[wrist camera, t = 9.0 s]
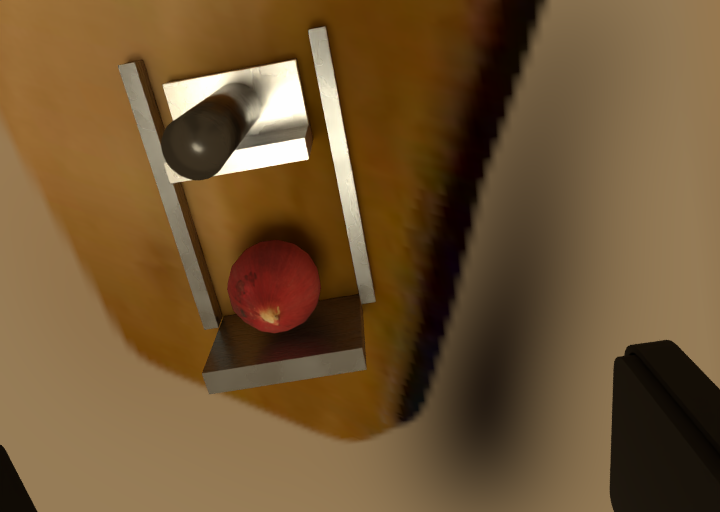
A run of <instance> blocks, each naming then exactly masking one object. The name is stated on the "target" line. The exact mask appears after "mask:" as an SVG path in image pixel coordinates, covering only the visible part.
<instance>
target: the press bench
mask: <svg viewBox="0 0 720 512" xmlns="http://www.w3.org/2000/svg"><path fill="white" fill-rule="evenodd" d="M308 33H309V38H310V43H311V49H312V54H313V59H314V64H315V69H316V74H317V79H318V84H319V90H320V95H321V100H322V105H323V110H324V115H325V120H326V126H327V131H328V136H329V141H330V146H331V151H332V156H333V161H334V167H335V172H336V177H337V182H338V187H339V192H340V197H341V202H342V208H343V213H344V218H345V223H346V228H347V233H348V238H349V244H350V249H351V254H352V259H353V264H354V269H355V274H356V279H357V285H358V290H359V294H358V295H352V296H346V297H339V298H333V299H327V300H321V301H318V303H317V305H316V308H315V309H314V310H313V312H312V313H311V315H310V316H309V317H308V319H307V320H306V321H305V322H304V323H302V324H300V325H298V326H296V327H294V328H292V329H290V330H288V331H283V332H279V333H270V332H263V331H260V330H258V329H256V328H254V327H253V326H251V325H249V324H247V323H245V322H244V321H243V320H242V319H241V318H240V317H239V316H238V315H237V314H236V315H230V316H224V317H223V320H222V323H221V325H220V322H221V319H222V313H221V310H220V307H219V304H218V301H217V297H216V294H215V291H214V288H213V284H212V281H211V278H210V275H209V272H208V268H207V265H206V262H205V259H204V255H203V252H202V249H201V246H200V243H199V239H198V236H197V233H196V230H195V226H194V223H193V220H192V217H191V214H190V210H189V207H188V204H187V201H186V198H185V194H184V191H183V188H182V185H181V182H177V183H171V184H170V181H169V178H168V175H167V172H166V169H165V166H164V162H166V161H165V159H164V157H163V154H162V149H161V140H162V135H163V133H164V131H165V130H164V127H163V123H162V120H161V117H160V114H159V111H158V107H157V104H156V101H155V98H154V94H153V91H152V88H151V85H150V82H149V78H148V75H147V72H146V69H145V66H144V62H143V60H141V61H135V62H130V63H125V64H122V65H118V68H119V71H120V74H121V77H122V80H123V83H124V86H125V89H126V92H127V95H128V98H129V101H130V104H131V107H132V111H133V114H134V117H135V120H136V123H137V126H138V129H139V132H140V135H141V138H142V141H143V144H144V147H145V150H146V153H147V156H148V159H149V162H150V165H151V168H152V171H153V174H154V177H155V180H156V184H157V187H158V190H159V193H160V196H161V199H162V202H163V205H164V208H165V211H166V214H167V217H168V220H169V223H170V226H171V229H172V232H173V235H174V238H175V241H176V244H177V247H178V250H179V253H180V256H181V260H182V263H183V266H184V269H185V272H186V275H187V278H188V281H189V284H190V287H191V290H192V293H193V296H194V299H195V302H196V305H197V308H198V311H199V314H200V317H201V320H202V323H203V326H204V329H205V330H206V329H212V328H218V327H219V325H220V328H219V331H218V333H217V336H216V338H215V341H214V344H213V346H212V349H211V351H210V354H209V357H208V359H207V362H206V365H205V367H204V370H203V372H202V375H203V378H204V381H205V383H206V386H207V389H208V392H209V394H215V393H221V392H227V391H234V390H240V389H246V388H253V387H259V386H265V385H272V384H278V383H284V382H290V381H297V380H303V379H309V378H316V377H322V376H328V375H335V374H341V373H347V372H354V371H360V370H366V354H365V337H364V320H363V310H362V305H361V304H365V303H371V302H375V292H374V286H373V281H372V276H371V270H370V265H369V259H368V254H367V248H366V243H365V237H364V232H363V226H362V221H361V215H360V210H359V204H358V199H357V193H356V188H355V182H354V177H353V171H352V166H351V160H350V155H349V149H348V144H347V138H346V133H345V127H344V122H343V117H342V111H341V106H340V100H339V95H338V89H337V84H336V78H335V73H334V67H333V62H332V56H331V51H330V45H329V40H328V34H327V29H326V26H322V27H317V28H312V29H309V30H308Z"/></svg>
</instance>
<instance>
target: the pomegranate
mask: <svg viewBox="0 0 720 512" xmlns="http://www.w3.org/2000/svg"><path fill="white" fill-rule="evenodd" d="M320 289H321V285H320V280H319V275H318V270H317V267H316V265H315V264H314V262H313V261H312V259H311V258H310V256H309V255H308V253H306V252H305V251H303V250H302V249H301V248H299V247H298V246H296V245H295V244H293V243H289V242H284V241H280V240H271V241H263V242H259V243H257V244H255V245H253V246H251V247H249V248H247V249H246V250H245V251H244V252H243V253H242V255H241V256H240V257H239V258H238V260H237V261H236V262H235V263H234V265H233V266H232V268H231V272H230V276H229V280H228V288H227V290H228V293H229V297H230V301H231V305H232V308H233V310H234V312H235V313H236V314H237V315H238V316H239V317H240V318H241V319H242V320H243V321H244V322H245V323H247V324H249V325H251V326H253V327H254V328H256V329H258V330H260V331H263V332H270V333H279V332H283V331H288V330H290V329H292V328H294V327H296V326H298V325H300V324H302V323H304V322H305V321H306V320H307V319H308V317H309V316H310V315H311V313H312V312H313V310H314V309H315V308H316V305H317V303H318V299H319V294H320Z"/></svg>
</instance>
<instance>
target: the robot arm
mask: <svg viewBox="0 0 720 512" xmlns="http://www.w3.org/2000/svg"><path fill="white" fill-rule="evenodd" d="M613 376H614V377H613V404H612V435H611V467H610V498H611V503H612V507H613V510H614V512H720V389H719V388H718V387H717V386H716V385H715V384H714V383H713V382H712V381H711V380H710V379H709V378H708V377H707V376H706V375H705V374H704V373H703V372H702V371H701V370H700V368H699V367H698V366H697V365H696V364H695V363H694V362H693V361H692V360H691V359H690V358H689V357H688V356H687V355H686V354H685V353H684V352H683V351H682V350H681V349H680V348H679V347H678V346H677V345H676V344H675V343H674V342H672V341H670V340H663V341H656V342H649V343H641V344H635V345H630V346H628V347H627V348H626V350H625V355H624V356H622V357H617V358H616V359H615V361H614V373H613ZM0 512H37V510H36V508H35V506H34V504H33V502H32V500H31V499H30V497H29V495H28V493H27V491H26V489H25V487H24V485H23V483H22V481H21V479H20V477H19V475H18V473H17V472H16V469H15V468H14V466H13V464H12V462H11V460H10V458H9V456H8V454H7V452H6V450H5V449H4V447H3V446H2V445H0Z"/></svg>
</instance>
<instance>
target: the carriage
mask: <svg viewBox="0 0 720 512" xmlns="http://www.w3.org/2000/svg"><path fill="white" fill-rule="evenodd" d="M163 88H164V92H165V95H166V98H167V102H168V105H169V108H170V111H171V115H172V118H173V121H172V122H171V123H170V124H169V125H168V126H167V128H166V129H165V131H164V133H163V135H162V140H161V149H162V154H163V157H164V159H165V161H166V162H164V166H165V169H166V172H167V175H168V178H169V181H170V184H171V183H177V182H182V181H188V180H204V179H208V178H210V177H212V176H216V175H222V174H228V173H233V172H239V171H245V170H250V169H256V168H262V167H268V166H273V165H279V164H285V163H290V162H296V161H302V160H307V159H309V156H310V152H311V148H312V143H313V136H312V131H311V126H310V121H309V116H308V111H307V107H306V102H305V97H304V92H303V87H302V82H301V77H300V73H299V68H298V63H297V58H296V59H290V60H285V61H279V62H274V63H269V64H263V65H258V66H252V67H247V68H241V69H236V70H231V71H225V72H220V73H214V74H209V75H204V76H198V77H193V78H187V79H182V80H176V81H171V82H167V83H165V84H163Z"/></svg>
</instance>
